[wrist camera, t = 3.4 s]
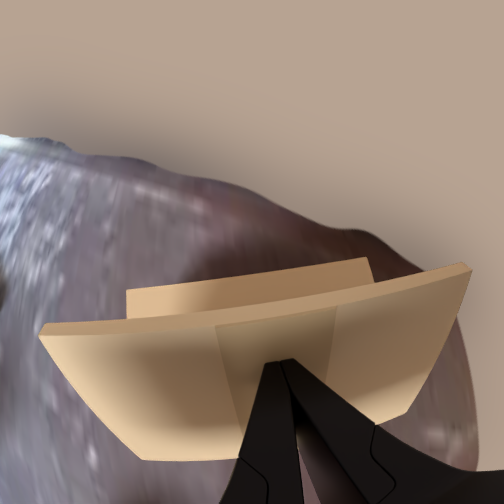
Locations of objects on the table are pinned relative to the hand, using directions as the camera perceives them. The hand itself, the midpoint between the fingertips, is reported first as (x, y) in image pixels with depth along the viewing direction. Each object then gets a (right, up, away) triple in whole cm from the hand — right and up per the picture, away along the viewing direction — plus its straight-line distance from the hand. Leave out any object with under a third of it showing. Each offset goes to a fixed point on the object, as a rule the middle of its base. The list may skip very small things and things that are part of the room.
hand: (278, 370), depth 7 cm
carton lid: (0, -2, +2) cm, 2 cm away
